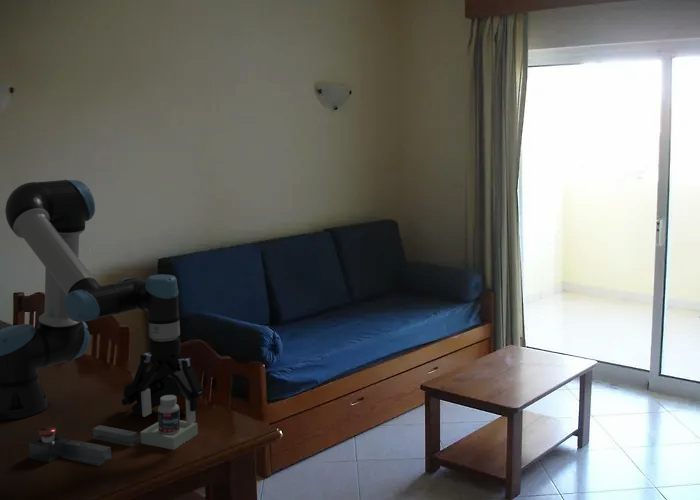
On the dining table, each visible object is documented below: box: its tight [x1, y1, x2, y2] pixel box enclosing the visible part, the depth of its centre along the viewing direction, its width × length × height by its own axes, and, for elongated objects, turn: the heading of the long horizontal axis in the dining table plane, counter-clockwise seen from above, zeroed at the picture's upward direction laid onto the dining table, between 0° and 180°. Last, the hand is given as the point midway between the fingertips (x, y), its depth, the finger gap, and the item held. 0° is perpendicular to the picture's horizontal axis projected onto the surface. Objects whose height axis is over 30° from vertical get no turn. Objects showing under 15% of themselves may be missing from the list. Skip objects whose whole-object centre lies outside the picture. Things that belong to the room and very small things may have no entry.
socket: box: [58, 424, 141, 467], centre depth 177 cm, size 12×16×3 cm
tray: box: [139, 419, 199, 451], centre depth 182 cm, size 10×10×3 cm
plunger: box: [38, 426, 57, 444], centre depth 173 cm, size 4×4×6 cm
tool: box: [120, 369, 188, 416], centre depth 199 cm, size 6×19×15 cm, turn 79°
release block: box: [28, 433, 69, 464], centre depth 173 cm, size 6×6×4 cm
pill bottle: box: [157, 395, 181, 435], centre depth 182 cm, size 5×5×9 cm
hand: (168, 418), depth 182 cm, fingers open, 13 cm apart
